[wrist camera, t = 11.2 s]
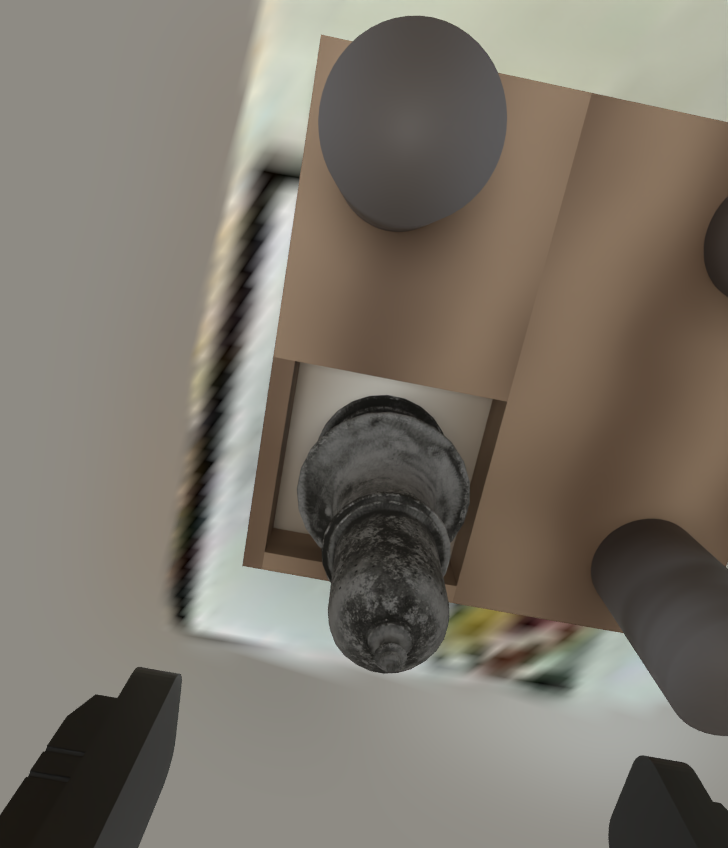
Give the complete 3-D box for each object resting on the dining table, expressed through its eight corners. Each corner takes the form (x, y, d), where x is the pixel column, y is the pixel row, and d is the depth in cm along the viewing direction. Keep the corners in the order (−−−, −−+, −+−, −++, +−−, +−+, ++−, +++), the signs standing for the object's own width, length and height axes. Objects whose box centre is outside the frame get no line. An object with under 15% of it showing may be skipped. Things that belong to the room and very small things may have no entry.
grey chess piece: (479, 416, 22) (590, 594, 11) (423, 544, 24) (471, 815, 13) (335, 366, 22) (294, 497, 10) (289, 500, 24) (210, 741, 12)
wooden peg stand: (825, 171, 21) (1149, 116, 12) (656, 601, 26) (798, 777, 17) (328, 65, 20) (294, -74, 11) (257, 529, 25) (196, 676, 16)
